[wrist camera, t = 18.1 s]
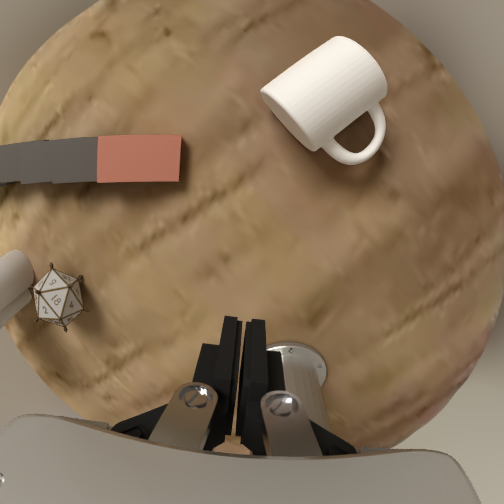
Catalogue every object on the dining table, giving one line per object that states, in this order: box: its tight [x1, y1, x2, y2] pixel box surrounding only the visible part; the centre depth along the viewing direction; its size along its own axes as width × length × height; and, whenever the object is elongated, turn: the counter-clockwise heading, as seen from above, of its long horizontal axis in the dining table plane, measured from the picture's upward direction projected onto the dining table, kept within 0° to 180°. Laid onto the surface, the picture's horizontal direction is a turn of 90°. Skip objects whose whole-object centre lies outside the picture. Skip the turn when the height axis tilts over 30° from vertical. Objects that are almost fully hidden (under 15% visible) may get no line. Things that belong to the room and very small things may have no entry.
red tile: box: [97, 135, 182, 183], centre depth 29 cm, size 5×2×9 cm
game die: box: [28, 262, 90, 333], centre depth 33 cm, size 9×8×10 cm
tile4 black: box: [0, 140, 49, 183], centre depth 28 cm, size 5×2×9 cm
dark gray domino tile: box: [20, 137, 87, 184], centre depth 29 cm, size 5×2×9 cm
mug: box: [260, 36, 387, 165], centre depth 26 cm, size 12×10×8 cm
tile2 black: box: [52, 137, 98, 184], centre depth 29 cm, size 5×2×9 cm
